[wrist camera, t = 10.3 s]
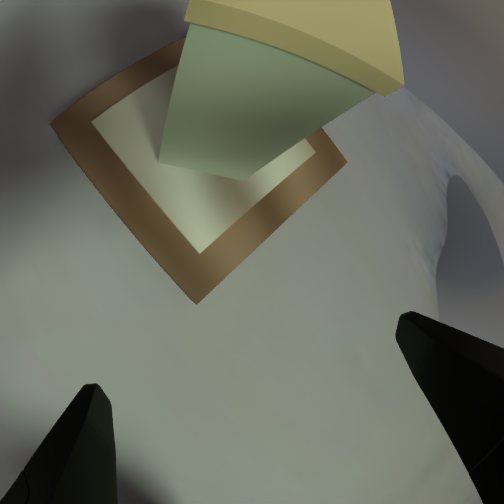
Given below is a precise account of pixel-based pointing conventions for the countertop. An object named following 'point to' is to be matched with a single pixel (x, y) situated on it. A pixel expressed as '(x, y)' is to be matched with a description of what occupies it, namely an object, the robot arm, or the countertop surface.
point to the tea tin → (272, 77)
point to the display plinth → (183, 177)
